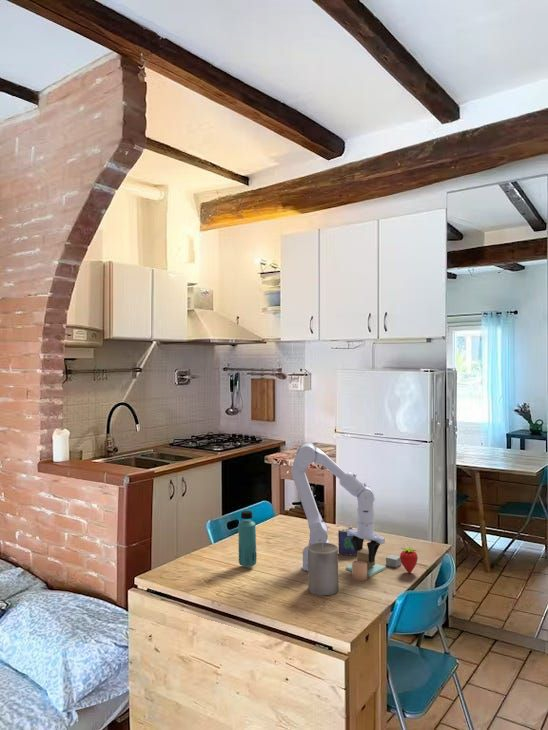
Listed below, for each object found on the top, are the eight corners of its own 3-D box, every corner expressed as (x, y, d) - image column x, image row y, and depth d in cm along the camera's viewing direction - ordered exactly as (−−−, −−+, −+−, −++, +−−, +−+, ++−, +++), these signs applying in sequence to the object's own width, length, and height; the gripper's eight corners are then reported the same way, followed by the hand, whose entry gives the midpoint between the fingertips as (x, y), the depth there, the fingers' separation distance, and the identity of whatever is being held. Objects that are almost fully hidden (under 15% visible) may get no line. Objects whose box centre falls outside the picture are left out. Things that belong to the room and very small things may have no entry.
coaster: (369, 576, 191) (369, 574, 191) (345, 569, 198) (345, 567, 198) (385, 568, 198) (385, 566, 198) (362, 561, 205) (362, 559, 205)
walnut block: (367, 568, 195) (367, 554, 195) (356, 565, 198) (356, 551, 198) (374, 565, 198) (374, 550, 198) (364, 561, 201) (364, 548, 201)
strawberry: (398, 575, 192) (398, 546, 192) (402, 567, 199) (402, 539, 199) (415, 578, 189) (415, 548, 189) (419, 570, 196) (419, 541, 196)
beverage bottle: (254, 571, 196) (253, 514, 196) (236, 570, 198) (235, 513, 198) (258, 564, 203) (258, 509, 203) (240, 563, 204) (240, 508, 204)
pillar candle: (319, 581, 187) (318, 536, 187) (344, 588, 181) (343, 542, 181) (302, 591, 180) (301, 544, 180) (327, 599, 174) (326, 550, 173)
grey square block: (396, 568, 199) (396, 559, 199) (385, 565, 201) (385, 557, 201) (401, 564, 202) (401, 556, 202) (391, 562, 205) (391, 554, 205)
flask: (362, 552, 215) (362, 524, 214) (363, 555, 212) (363, 527, 212) (338, 552, 215) (337, 524, 215) (338, 555, 212) (338, 527, 212)
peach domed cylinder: (361, 582, 187) (361, 567, 186) (349, 578, 190) (349, 563, 190) (370, 577, 190) (370, 563, 190) (357, 574, 194) (357, 559, 194)
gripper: (389, 523, 196) (389, 561, 196) (355, 515, 206) (355, 552, 206) (378, 527, 191) (378, 567, 191) (343, 519, 200) (343, 557, 201)
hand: (365, 559), depth 198 cm, fingers closed on walnut block, 4 cm apart
